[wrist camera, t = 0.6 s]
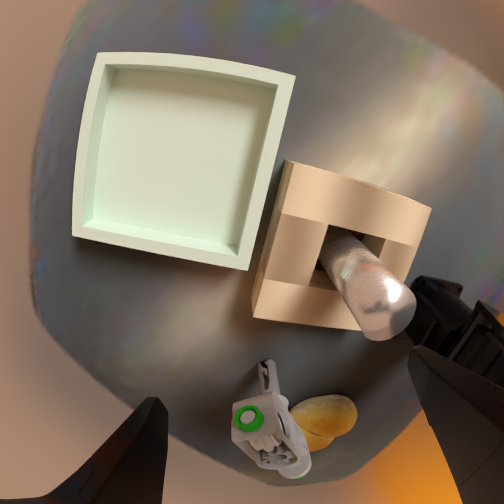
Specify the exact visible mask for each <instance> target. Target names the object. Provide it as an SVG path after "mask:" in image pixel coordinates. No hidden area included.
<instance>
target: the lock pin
mask: <svg viewBox="0 0 504 504" xmlns="http://www.w3.org/2000/svg"><path fill="white" fill-rule="evenodd" d="M318 260H319V261H320V263H321V264H322V266H323V267H324V269H325V271H326V272H327V274H328V275H329V277H330V279H331V280H332V282H333V284H334V285H335V287H336V288H337V290H338V292H339V293H340V295H341V297H342V298H343V300H344V302H345V303H346V305H347V307H348V308H349V310H350V312H351V313H352V315H353V317H354V318H355V320H356V322H357V324H358V325H359V327H360V329H361V330H362V332H363V334H364V335H365V336H366V337H367V338H368V339H370V340H373V341H384V340H387V339H390V338H392V337H394V336H396V335H398V334H399V333H400V332H402V331H403V330H404V329H405V328H406V327H407V326H408V324H409V323H410V322H411V320H412V318H413V316H414V314H415V310H416V298H415V296H414V294H413V293H412V292H411V291H410V289H409V288H408V287H407V286H406V285H405V284H404V283H403V282H402V281H401V280H400V279H399V278H398V277H397V276H396V275H395V274H394V273H393V272H392V271H391V270H390V269H389V268H387V267H386V266H385V265H384V264H383V263H382V262H381V261H380V260H379V259H378V258H377V257H376V256H375V255H374V254H373V253H372V252H371V251H370V250H369V249H368V248H367V247H365V246H364V245H363V244H362V243H361V242H360V241H359V240H358V239H357V238H356V237H355V236H353V235H352V234H351V233H350V232H349V231H348V230H347V229H345V228H342V227H338V226H330V227H328V228H327V231H326V234H325V237H324V240H323V243H322V246H321V250H320V253H319V256H318Z"/></svg>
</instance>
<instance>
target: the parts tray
mask: <svg viewBox="0 0 504 504" xmlns="http://www.w3.org/2000/svg"><path fill="white" fill-rule="evenodd" d="M295 77H296V76H293V75H290V74H286V73H282V72H278V71H274V70H270V69H266V68H261V67H257V66H252V65H247V64H242V63H237V62H231V61H226V60H219V59H213V58H206V57H198V56H189V55H179V54H166V53H147V52H105V53H97V57H96V60H95V64H94V67H93V71H92V75H91V79H90V83H89V87H88V91H87V96H86V100H85V105H84V110H83V116H82V121H81V127H80V133H79V140H78V148H77V156H76V165H75V175H74V189H73V210H72V236H76V237H81V238H86V239H90V240H95V241H99V242H104V243H109V244H114V245H118V246H123V247H128V248H133V249H138V250H143V251H148V252H152V253H157V254H162V255H167V256H172V257H178V258H183V259H188V260H193V261H198V262H203V263H208V264H214V265H219V266H224V267H230V268H235V269H240V270H246V271H248V268H249V264H250V260H251V256H252V252H253V248H254V244H255V239H256V235H257V231H258V227H259V223H260V219H261V215H262V211H263V207H264V203H265V199H266V195H267V191H268V187H269V182H270V178H271V174H272V170H273V166H274V162H275V158H276V154H277V150H278V146H279V142H280V138H281V134H282V130H283V125H284V121H285V117H286V113H287V109H288V105H289V101H290V97H291V93H292V89H293V85H294V81H295Z"/></svg>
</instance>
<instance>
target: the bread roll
mask: <svg viewBox="0 0 504 504" xmlns="http://www.w3.org/2000/svg"><path fill="white" fill-rule="evenodd" d="M289 413H290V415H291V416H292V418H293V419H294V421H295V422H296V424H297V425H298V426H299V428H300V429H301V431H302V432H303V434H304V436H305V439H306V441H307V445H308V449H309V451H316V450H319V449H322V448H324V447H326V446H327V445H329V444H330V443H331V442H332V440H333V439H334V437H336V436H340V435H343V434H345V433H347V432H348V431H349V430H350V429H351V428H352V427H353V426H354V424H355V422H356V419H357V410H356V407H355V405H354V403H353V402H352V401H351V400H350V399H349V398H348V397H346V396H342V395H334V394H331V395H325V396H318V397H313V398H309V399H306V400H304V401H302V402H300V403H298V404H297V405H295V406H294V407H293V408H292V409H291V410H290V411H289Z"/></svg>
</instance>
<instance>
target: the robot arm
mask: <svg viewBox="0 0 504 504" xmlns="http://www.w3.org/2000/svg"><path fill="white" fill-rule="evenodd" d="M422 281H423V282H422ZM421 282H422V283H421ZM462 290H463V286H462V285H461V284H459V283H454V282H450V281H445V280H441V279H436V278H432V277H427V276H420V277H419V278H418V279H417V281H416V283H415V285H414V288H413V290H412V293H413V294H414V296H415V298H416V310H415V314H414V316H413V318H412V320H411V322H410V323H409V324H408V326H407V327H406V328H405V329H404V330H403V331H402V332H400V333H399V334H398V335H396V336H394V337H393V338H394V339H411V341H412V342H413V344H414V345H415V347H413V348H411V350H410V353H409V359H408V370H409V373H410V376H411V378H412V381H413V384H414V387H415V390H416V392H417V395H418V398H419V401H420V403H421V406H422V408H423V410H424V412H425V414H426V417H427V420H428V423H429V425H430V426H431V427H432V429H433V431H434V433H435V435H436V438H437V440H438V442H439V444H440V447H441V449H442V451H443V454H444V456H445V458H446V461H447V463H448V466H449V468H450V470H451V473H452V476H453V478H454V481H455V483H456V486H457V488H458V492H459V494H460V497H461V500H462V503H463V504H504V314H503V313H501V312H500V311H499V310H497V309H495V308H493V307H491V306H489V305H487V304H485V303H483V302H481V301H479V300H478V301H477V303H476V305H475V308H474V310H472V309H471V308H469V307H468V306H467V305H466V304H465V303H464V302H463V301H462V300H461V299H460V298H459V296H460V294H461V292H462ZM167 450H168V411H167V409H166V408H165V406H164V405H163V403H162V402H161V400H160V399H159V398H158V397H147V398H146V399H145V400H144V401H143V402H142V403H141V404H140V405H139V406H138V407H137V409H136V410H135V411H134V412H133V413H132V414H131V415H130V416H129V417H128V418H127V419H126V420H125V421H124V422H123V424H121V426H120V427H119V428H118V429H117V430H116V431H115V432H114V433H113V434H112V435H111V436H110V437H109V438H108V439H107V440H106V441H105V442H104V444H102V446H101V447H100V448H99V449H98V450H97V451H96V452H95V453H94V454H93V455H92V456H91V457H90V458H89V459H88V460H87V461H86V462H85V463H84V464H83V465H82V466H81V467H80V468H79V469H78V470H77V471H76V472H75V473H73V474H72V475H71V476H70V477H69V478H68V479H66V480H65V481H64V482H63V483H61V484H60V485H59V486H58V487H57V488H56V489H54V490H53V491H52V492H50V493H48V494H46V495H44V496H41V497H35V498H23V499H0V504H162V494H163V485H164V476H165V467H166V459H167Z"/></svg>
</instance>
